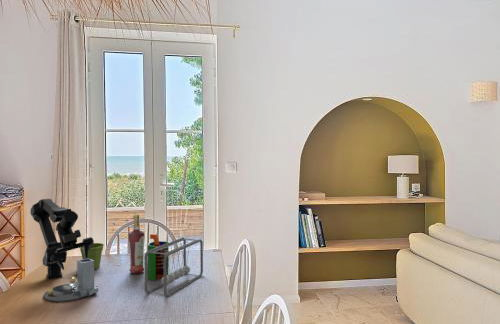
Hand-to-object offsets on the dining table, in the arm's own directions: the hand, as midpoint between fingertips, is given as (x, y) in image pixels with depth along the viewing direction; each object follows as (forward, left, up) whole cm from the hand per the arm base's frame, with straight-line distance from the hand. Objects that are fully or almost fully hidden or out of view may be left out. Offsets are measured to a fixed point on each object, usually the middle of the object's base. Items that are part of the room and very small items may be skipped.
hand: (75, 265), depth 159 cm
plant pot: (-29, +10, -10) cm, 32 cm away
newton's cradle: (+15, +39, -11) cm, 43 cm away
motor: (+1, +35, -10) cm, 36 cm away
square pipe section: (+8, +3, -9) cm, 13 cm away
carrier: (+3, -2, -10) cm, 11 cm away
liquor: (-10, +28, -10) cm, 31 cm away
